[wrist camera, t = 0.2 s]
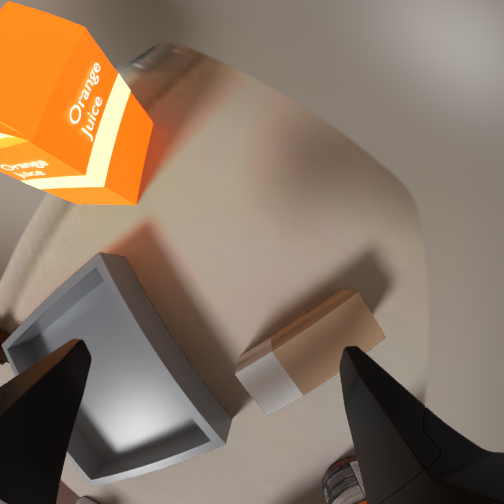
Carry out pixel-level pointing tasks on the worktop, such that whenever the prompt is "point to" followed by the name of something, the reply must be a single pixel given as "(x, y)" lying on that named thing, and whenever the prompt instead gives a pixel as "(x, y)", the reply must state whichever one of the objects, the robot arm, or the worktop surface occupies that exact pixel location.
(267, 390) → the tan rectangular block
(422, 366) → the worktop surface
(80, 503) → the flask
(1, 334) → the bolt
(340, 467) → the supplement bottle
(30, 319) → the bin
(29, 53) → the orange juice
